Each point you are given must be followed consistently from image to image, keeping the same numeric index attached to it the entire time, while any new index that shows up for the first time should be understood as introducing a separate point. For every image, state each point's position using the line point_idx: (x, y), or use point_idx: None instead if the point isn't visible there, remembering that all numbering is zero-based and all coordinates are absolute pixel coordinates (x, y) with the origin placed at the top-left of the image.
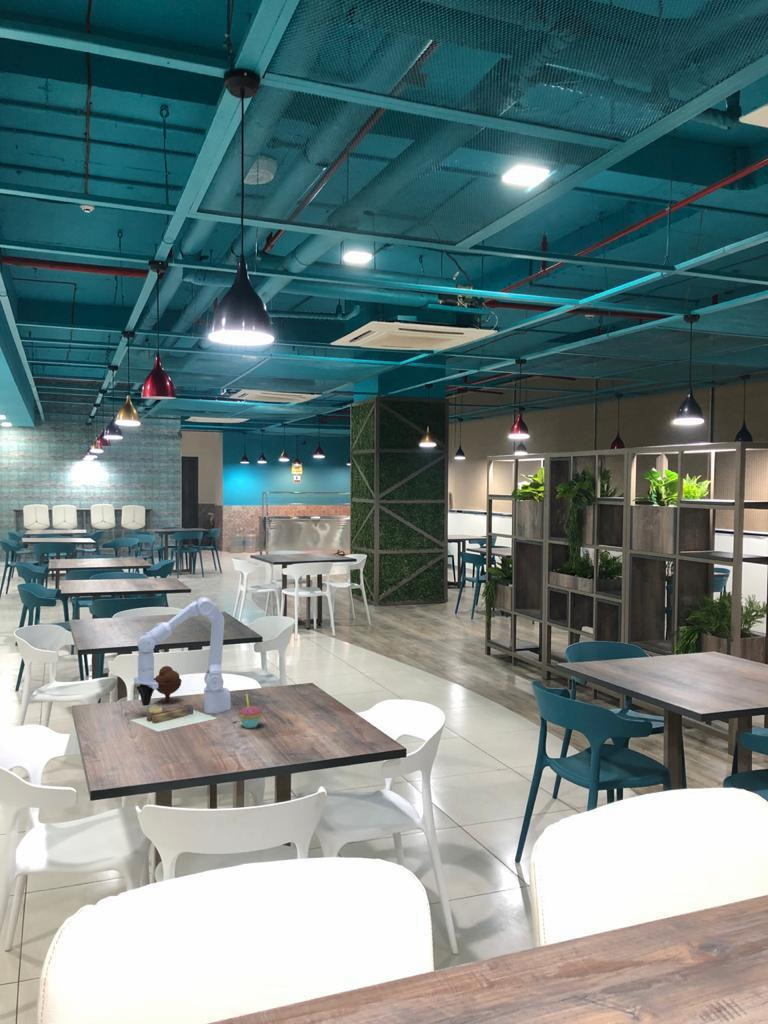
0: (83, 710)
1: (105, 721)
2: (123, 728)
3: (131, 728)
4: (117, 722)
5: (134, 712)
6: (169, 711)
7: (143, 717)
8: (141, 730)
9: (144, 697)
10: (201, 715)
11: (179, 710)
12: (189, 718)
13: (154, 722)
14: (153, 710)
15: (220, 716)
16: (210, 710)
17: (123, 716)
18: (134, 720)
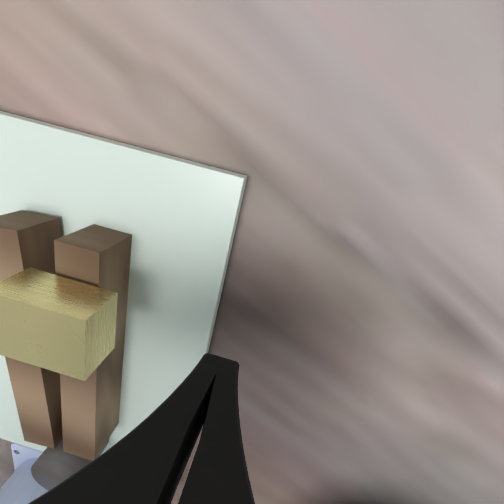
0: None
1: (489, 83)
2: (158, 20)
3: (110, 66)
4: (352, 127)
5: (428, 377)
6: (65, 376)
7: (217, 280)
8: (12, 75)
9: (148, 420)
10: (18, 427)
11: (24, 404)
12: (4, 373)
13: (25, 211)
14: (23, 284)
15: (5, 454)
16: (16, 476)
17: (435, 277)
18: (204, 189)
